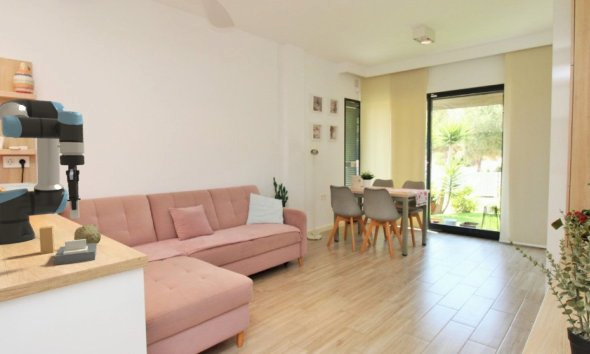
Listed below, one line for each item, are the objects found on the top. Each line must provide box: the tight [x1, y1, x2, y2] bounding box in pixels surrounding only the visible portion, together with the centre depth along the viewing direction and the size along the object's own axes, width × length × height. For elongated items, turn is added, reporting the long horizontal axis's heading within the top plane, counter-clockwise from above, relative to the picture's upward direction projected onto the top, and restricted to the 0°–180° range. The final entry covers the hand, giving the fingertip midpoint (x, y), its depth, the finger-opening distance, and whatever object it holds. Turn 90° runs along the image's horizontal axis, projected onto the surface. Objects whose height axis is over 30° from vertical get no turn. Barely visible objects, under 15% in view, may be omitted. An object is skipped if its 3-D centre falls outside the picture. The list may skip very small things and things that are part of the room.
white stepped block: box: [63, 239, 88, 255], centre depth 123 cm, size 7×7×4 cm
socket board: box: [54, 243, 97, 266], centre depth 127 cm, size 15×12×3 cm
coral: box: [73, 222, 102, 245], centre depth 143 cm, size 10×10×10 cm
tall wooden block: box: [39, 225, 56, 255], centre depth 134 cm, size 4×4×10 cm
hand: (74, 218), depth 124 cm, fingers closed
